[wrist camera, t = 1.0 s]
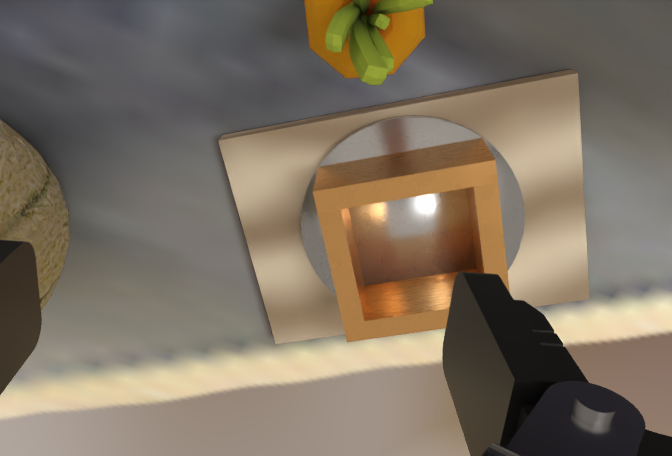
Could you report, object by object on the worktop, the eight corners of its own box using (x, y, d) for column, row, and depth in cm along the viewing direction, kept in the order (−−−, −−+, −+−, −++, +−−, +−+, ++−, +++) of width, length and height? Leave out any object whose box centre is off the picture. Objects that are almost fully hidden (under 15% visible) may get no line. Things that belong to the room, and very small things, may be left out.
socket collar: (279, 137, 36) (267, 163, 32) (512, 94, 34) (531, 115, 30) (326, 330, 41) (321, 373, 37) (530, 300, 39) (550, 342, 35)
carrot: (335, -66, 33) (309, -77, 19) (426, -36, 33) (466, -25, 19) (308, 30, 35) (269, 84, 21) (395, 57, 35) (412, 128, 21)
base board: (222, 134, 37) (217, 140, 36) (571, 69, 35) (578, 73, 34) (278, 334, 43) (275, 344, 42) (583, 289, 40) (589, 298, 39)
